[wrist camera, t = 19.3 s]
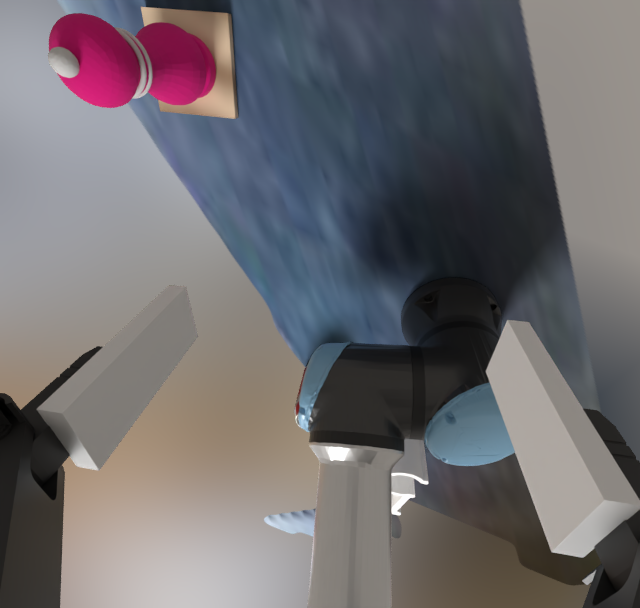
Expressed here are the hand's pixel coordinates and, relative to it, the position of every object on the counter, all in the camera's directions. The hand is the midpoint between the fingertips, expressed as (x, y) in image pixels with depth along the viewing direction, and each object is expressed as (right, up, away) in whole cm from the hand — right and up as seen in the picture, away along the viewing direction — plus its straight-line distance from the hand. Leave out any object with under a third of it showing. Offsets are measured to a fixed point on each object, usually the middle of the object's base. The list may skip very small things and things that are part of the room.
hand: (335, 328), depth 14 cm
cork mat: (-16, +30, +26) cm, 42 cm away
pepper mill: (-16, +29, +25) cm, 42 cm away
